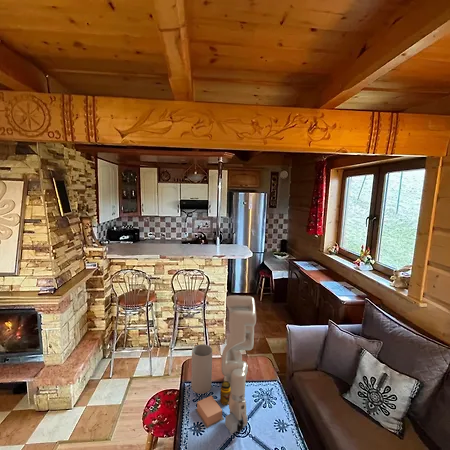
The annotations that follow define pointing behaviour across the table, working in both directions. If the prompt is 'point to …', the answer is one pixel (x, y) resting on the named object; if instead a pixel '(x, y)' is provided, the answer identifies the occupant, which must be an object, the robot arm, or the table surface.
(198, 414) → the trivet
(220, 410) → the brick
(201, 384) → the cylinder vase
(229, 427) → the brick
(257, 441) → the table surface
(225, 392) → the condiment
